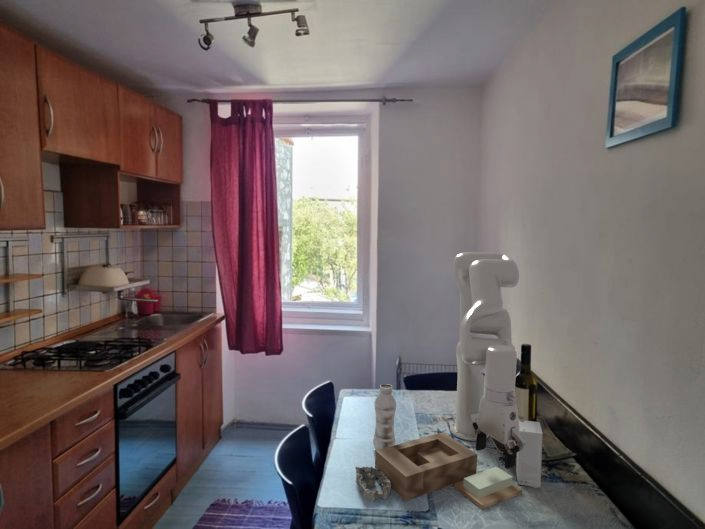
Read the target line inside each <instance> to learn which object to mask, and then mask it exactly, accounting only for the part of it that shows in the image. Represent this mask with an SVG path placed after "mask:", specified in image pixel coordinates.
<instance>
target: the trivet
mask: <svg viewBox="0 0 705 529" xmlns="http://www.w3.org/2000/svg"><path fill="white" fill-rule="evenodd" d="M463 483H464V480H463V481H460V482H457V483H454V484H453V488H454V489H456V490H457V491H458V492H459V493H461V494H462V495H463V496H464V497H465V498H467V499H469V500H470V502H472V503H473V504H475V505H476V506H477V507H479V508H480V509H482V510H484V509H486V508H489V507H492V506H494V505H496V504H499V503H502V502H504V501H507V500H509V499H511V498H514V497H516V496H519V495H520V494H522V493H523V489H522V488H520V487H519V486H517V485H515V484H514V483H513V482H512V486H510V487H507V488H504V489H502V490H499V491H497V492H494V493H492V494H489V495H487V496H484V497H481V498H477V497H476V496H475V495H473V494H472V493H471V492H469V491H468V490H467V489H465V488H464V487H463Z"/></svg>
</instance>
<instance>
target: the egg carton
mask: <svg viewBox="0 0 705 529" xmlns="http://www.w3.org/2000/svg"><path fill="white" fill-rule="evenodd" d="M355 474H356V477H355V482H356V484H359V490H360V492H363V500H369V501H370V502H375V499H377V498H381V497H382V499H383V500H388V497H389V496H390V493H391V488H390V486H391V482H390V480H389V479H387V477H386V476H385V474H384V473H383V472H381V471H380V469H379V468H378V467H376V468H375V467H373V466H370V467H369V466H362V467H360V466H355ZM376 477H377V478H376ZM376 479H378V480H377V481H378V484H379V485H380V484H383V485H382V489H377V488H372V487H375V485H376ZM364 480H366V481H364ZM368 487H369V488H372V489H371V490H370V489H368ZM376 489H377V490H376ZM387 496H388V497H387ZM376 497H377V498H376Z"/></svg>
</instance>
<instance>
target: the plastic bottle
mask: <svg viewBox="0 0 705 529" xmlns="http://www.w3.org/2000/svg"><path fill="white" fill-rule="evenodd" d="M378 391H379V393H378V395H377V396H376V398H375V400H374V405H373V406H374V412H375V428H374V435H373V442H372V444H373V448H374V449H375V450H379V449H383V448H387V447H390V446H394V445H396V436H395V426H394V424H395V416H396V409H397V401H396V399H395V397H394V396H393V392H394V390H393V385H392V384H388V383H382V384H380V386H379V390H378Z"/></svg>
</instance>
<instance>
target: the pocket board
mask: <svg viewBox="0 0 705 529" xmlns="http://www.w3.org/2000/svg"><path fill="white" fill-rule="evenodd" d="M374 452H375V454H374V457H375V458H374V468H376V467H378V468H379V469H380V471H381V472H383V473H384V474H385V476H386V477H387V479H389V480H390V482H391V486H390V487H391V488H390V490H392V491H393V492H395V493H396V494H397V496H398V497H400V498H401V499H402V500H403V501H404V502H407V501H411V500H412V499H417V498H419V497H421V496H422V497H423V496H424V495H429V494H430V493H433V492H436V491H439V490H442V489H444V488H447V487H451V486H454V483H457V482H460V481H463V480H464V478H466V477H468V476H471V475H474V474H477V472H478V471H477V467H478V453H477V452H475V451H474V450H472V449H470V448H469V447H467V446H466V445H464V444H462V443H461V442H459V441H458V440H456V439H454V438H453V437H451V436H450V435H448V434H446V433H445V432H438V433H436V434H432V435H428V436H424V437H421V438H417V439H412V440H410V441H405V442H403V443H399V444H395V445H394V446H390V447H387V448H383V449H379V450H376V449H375V451H374Z"/></svg>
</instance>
